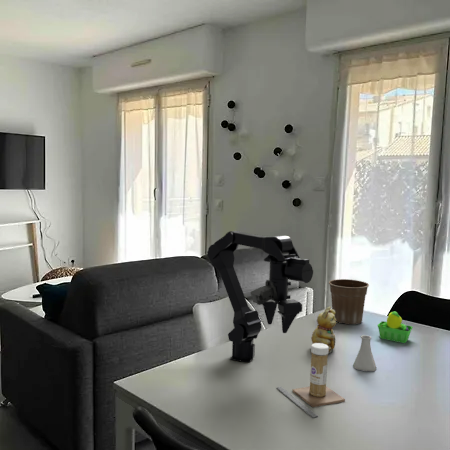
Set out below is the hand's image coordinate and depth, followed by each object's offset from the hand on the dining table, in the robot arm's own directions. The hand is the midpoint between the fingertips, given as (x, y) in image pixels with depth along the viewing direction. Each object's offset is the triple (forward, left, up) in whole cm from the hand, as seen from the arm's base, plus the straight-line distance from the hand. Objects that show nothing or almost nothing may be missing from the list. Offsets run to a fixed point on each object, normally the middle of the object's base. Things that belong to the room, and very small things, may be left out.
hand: (276, 328), depth 146 cm
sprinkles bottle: (+14, -14, -13) cm, 23 cm away
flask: (+26, +12, -13) cm, 32 cm away
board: (+14, -14, -13) cm, 24 cm away
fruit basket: (+36, +45, -13) cm, 59 cm away
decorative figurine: (+12, +24, -13) cm, 30 cm away
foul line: (+9, -19, -13) cm, 25 cm away
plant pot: (+18, +64, -13) cm, 68 cm away
